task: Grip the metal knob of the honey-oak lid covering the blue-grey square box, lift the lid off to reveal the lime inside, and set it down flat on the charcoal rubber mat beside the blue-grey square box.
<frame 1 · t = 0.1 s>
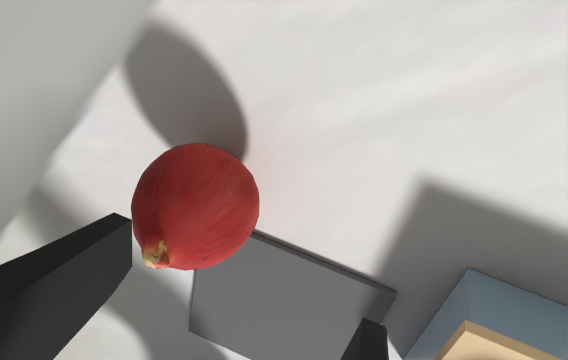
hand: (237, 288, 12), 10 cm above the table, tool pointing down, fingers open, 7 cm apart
mat: (277, 311, 28), on the table
pomegranate: (231, 165, 23), on the table
blue-grey square box: (510, 351, 23), on the table
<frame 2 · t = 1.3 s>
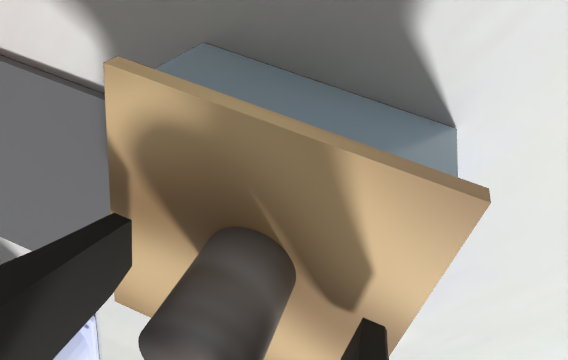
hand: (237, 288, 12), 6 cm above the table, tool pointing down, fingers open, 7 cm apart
lid: (257, 253, 13), point 4 cm above the table, touching blue-grey square box
mat: (36, 172, 21), on the table
blue-grey square box: (294, 187, 17), on the table
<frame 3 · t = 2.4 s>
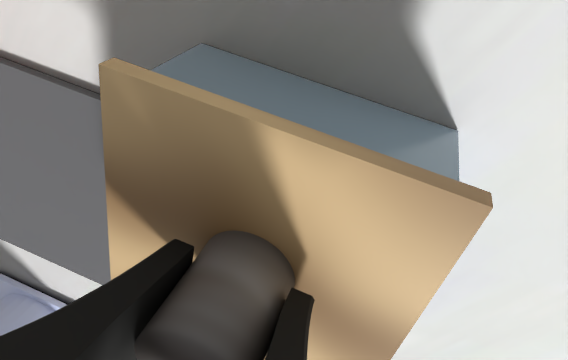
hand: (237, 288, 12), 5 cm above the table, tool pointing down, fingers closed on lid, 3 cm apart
lid: (255, 256, 13), point 4 cm above the table, touching blue-grey square box, gripper
mat: (34, 173, 21), on the table
blue-grey square box: (293, 189, 16), on the table
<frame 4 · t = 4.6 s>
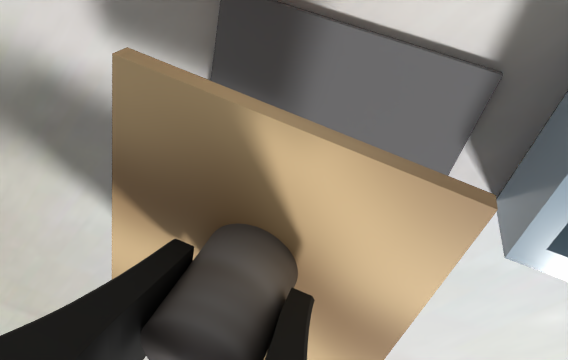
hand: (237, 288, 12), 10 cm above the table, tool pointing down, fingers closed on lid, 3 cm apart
lid: (258, 250, 13), point 9 cm above the table, touching gripper
mat: (319, 147, 21), on the table
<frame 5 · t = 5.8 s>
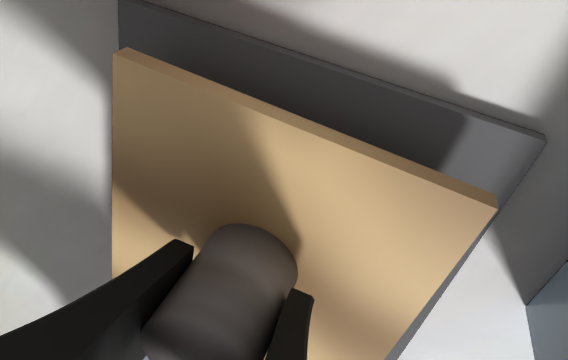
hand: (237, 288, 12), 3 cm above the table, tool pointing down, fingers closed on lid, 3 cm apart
lid: (258, 249, 13), point 2 cm above the table, touching gripper
mat: (276, 220, 15), on the table
when the fingers open (3 cm above the table, at t = 6.6 s): lid stays where it is, resting on mat.
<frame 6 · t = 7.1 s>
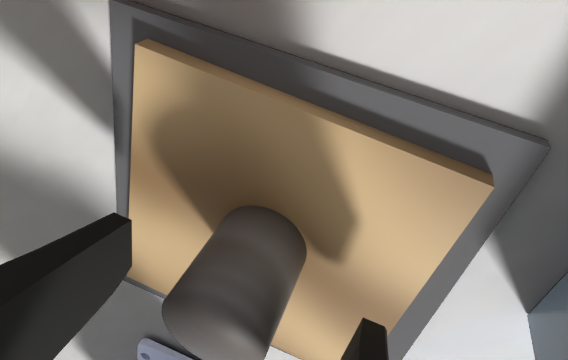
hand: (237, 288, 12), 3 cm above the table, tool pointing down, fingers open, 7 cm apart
lid: (269, 232, 14), resting on mat
mat: (272, 226, 15), on the table
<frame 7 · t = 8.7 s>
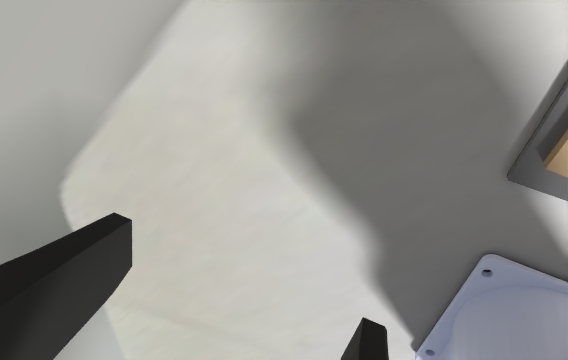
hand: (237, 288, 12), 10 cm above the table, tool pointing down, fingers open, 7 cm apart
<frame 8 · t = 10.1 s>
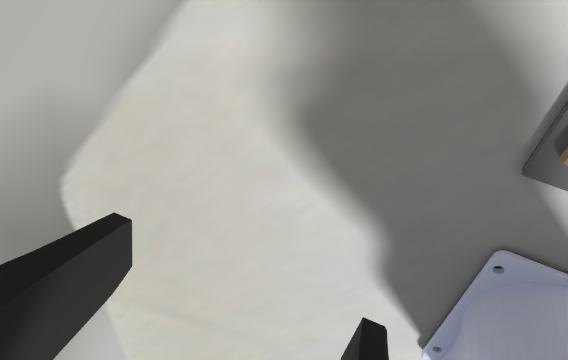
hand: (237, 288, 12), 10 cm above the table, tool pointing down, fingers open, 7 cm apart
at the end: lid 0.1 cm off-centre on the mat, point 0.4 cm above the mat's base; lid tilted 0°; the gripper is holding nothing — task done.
